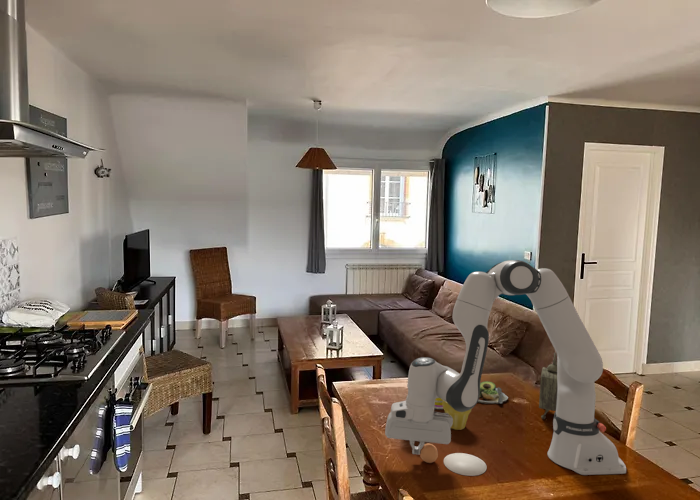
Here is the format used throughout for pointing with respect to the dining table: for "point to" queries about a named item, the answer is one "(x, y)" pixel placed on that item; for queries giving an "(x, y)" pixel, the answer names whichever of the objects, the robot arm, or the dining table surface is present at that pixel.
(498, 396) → the avocado toast plate
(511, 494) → the dining table surface
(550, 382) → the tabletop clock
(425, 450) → the ball
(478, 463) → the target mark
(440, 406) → the supplement bottle
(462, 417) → the plant pot
